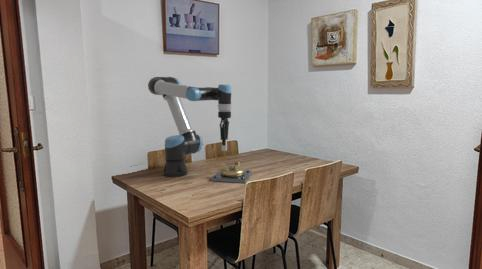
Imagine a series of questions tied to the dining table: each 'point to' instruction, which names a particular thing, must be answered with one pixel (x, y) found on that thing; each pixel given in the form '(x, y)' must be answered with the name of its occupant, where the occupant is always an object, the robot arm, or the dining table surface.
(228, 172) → the three-jaw lathe chuck
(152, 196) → the dining table surface
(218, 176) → the plate
